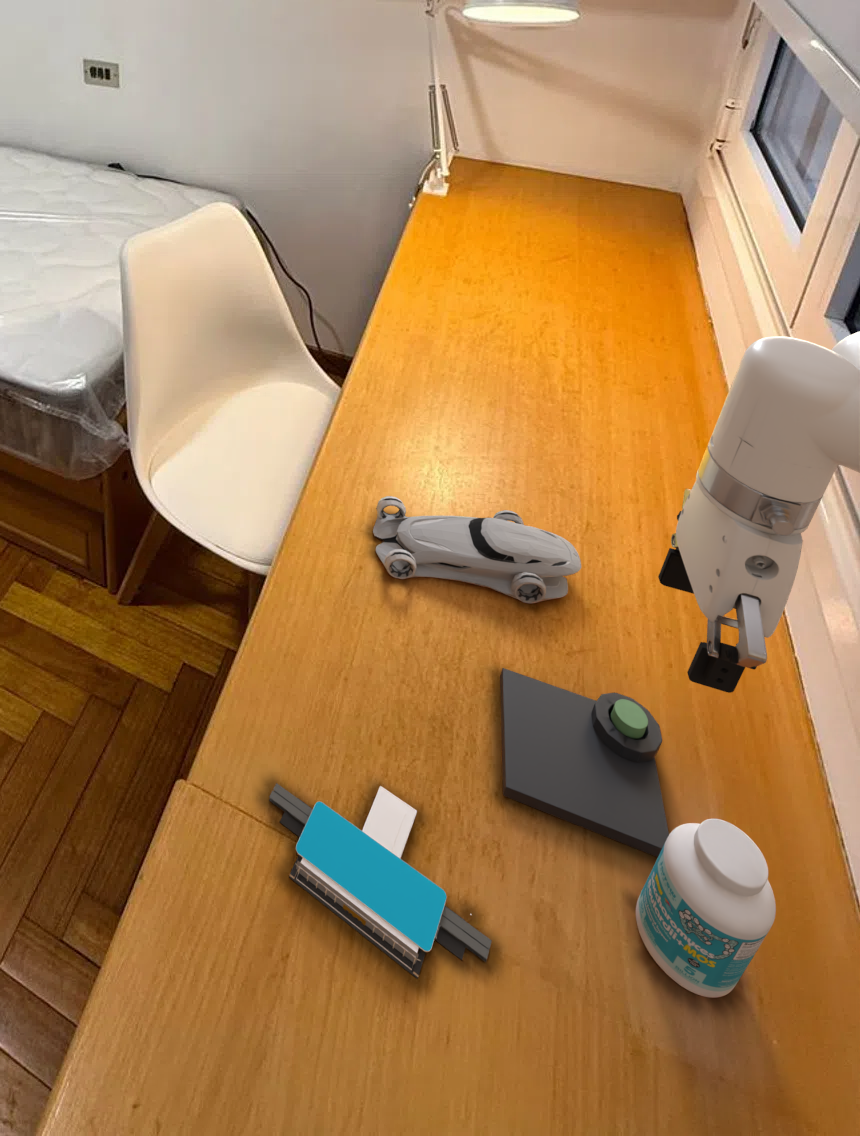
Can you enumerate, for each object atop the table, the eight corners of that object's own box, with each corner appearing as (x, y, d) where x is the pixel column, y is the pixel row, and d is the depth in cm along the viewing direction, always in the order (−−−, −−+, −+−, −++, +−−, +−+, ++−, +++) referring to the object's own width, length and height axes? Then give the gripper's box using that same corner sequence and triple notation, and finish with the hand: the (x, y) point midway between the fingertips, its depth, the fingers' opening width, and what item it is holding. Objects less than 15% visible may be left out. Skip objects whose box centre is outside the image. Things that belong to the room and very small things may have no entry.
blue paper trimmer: (507, 878, 75) (510, 867, 75) (471, 1021, 66) (475, 1010, 66) (301, 736, 86) (303, 726, 86) (246, 843, 77) (248, 832, 77)
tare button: (641, 715, 86) (645, 705, 86) (646, 743, 84) (650, 733, 83) (608, 704, 87) (612, 694, 87) (612, 731, 85) (616, 721, 84)
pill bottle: (613, 912, 73) (655, 817, 68) (673, 877, 76) (718, 783, 70) (694, 1021, 67) (748, 926, 62) (757, 979, 69) (813, 884, 64)
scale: (648, 724, 88) (655, 706, 87) (673, 864, 77) (683, 844, 75) (499, 672, 93) (505, 653, 92) (503, 795, 82) (509, 776, 80)
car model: (369, 509, 114) (374, 481, 112) (559, 538, 110) (568, 510, 108) (378, 579, 104) (384, 549, 102) (588, 613, 100) (598, 583, 98)
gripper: (863, 588, 58) (779, 746, 65) (772, 425, 73) (711, 566, 80) (737, 555, 60) (669, 711, 67) (674, 403, 75) (623, 543, 82)
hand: (692, 632), depth 73 cm, fingers open, 9 cm apart
